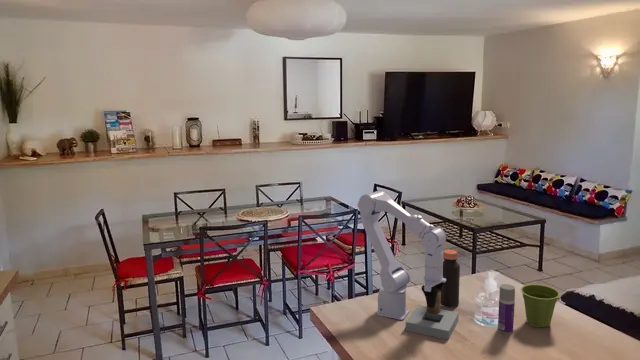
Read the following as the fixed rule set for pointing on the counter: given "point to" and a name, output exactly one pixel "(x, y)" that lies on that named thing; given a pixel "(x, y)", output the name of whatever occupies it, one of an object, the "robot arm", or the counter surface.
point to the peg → (437, 305)
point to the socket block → (432, 322)
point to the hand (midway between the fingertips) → (433, 304)
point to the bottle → (450, 279)
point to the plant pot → (539, 304)
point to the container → (506, 309)
